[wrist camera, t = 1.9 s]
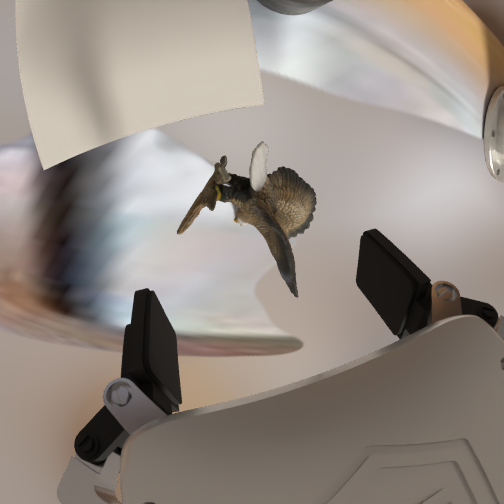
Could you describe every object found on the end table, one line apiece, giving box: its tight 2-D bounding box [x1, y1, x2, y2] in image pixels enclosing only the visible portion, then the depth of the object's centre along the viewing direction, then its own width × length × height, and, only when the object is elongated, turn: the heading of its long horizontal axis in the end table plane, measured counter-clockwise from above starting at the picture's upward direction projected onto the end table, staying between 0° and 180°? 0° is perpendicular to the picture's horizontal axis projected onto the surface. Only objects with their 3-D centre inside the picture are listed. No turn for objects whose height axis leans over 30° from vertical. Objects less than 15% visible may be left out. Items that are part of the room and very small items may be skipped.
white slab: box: [16, 0, 264, 170], centre depth 10 cm, size 13×13×3 cm
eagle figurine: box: [177, 142, 317, 297], centre depth 17 cm, size 8×7×9 cm
